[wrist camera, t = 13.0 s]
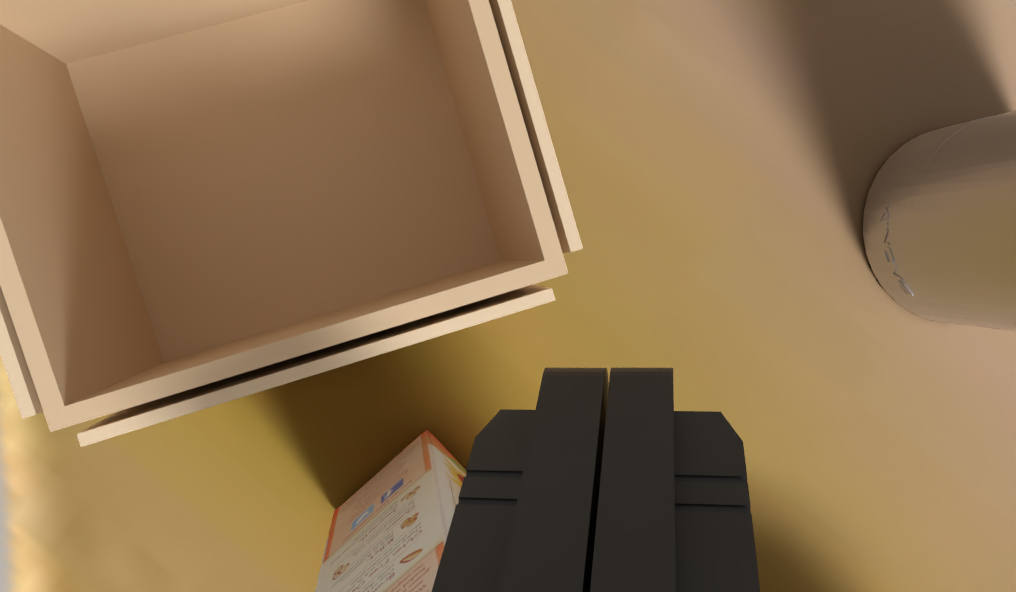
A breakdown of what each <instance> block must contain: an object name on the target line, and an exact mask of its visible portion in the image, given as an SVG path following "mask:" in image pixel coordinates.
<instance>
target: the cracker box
mask: <svg viewBox="0 0 1016 592" xmlns="http://www.w3.org/2000/svg"><path fill="white" fill-rule="evenodd" d="M464 476H465V477H466V470H465V469H464V468H463V467H462V465H461V464H460V463H459V462H458V461H457V460H456V459H455V458H454V457H453V456H452V455H451V454H450V453H449V451H448V450H447V449H446V448H445V447H444V446H443V445H442V444H441V443H440V442H439V441H438V440H437V438H436V437H435V436H434V435H433V434H432V433H431V432H430V431H428V430H426V431H425V432H423V433H422V434H421V435H420V436H418V437H417V438H416V439H415V440H414V441H413V442H411V443H410V444H409V445H408V446H407V447H406V448H405V449H404V450H403V451H401V452H400V453H399V454H398V455H397V456H396V457H395V458H394V459H393V460H392V461H390V462H389V463H388V464H387V465H386V466H385V467H384V468H383V469H382V470H380V471H379V472H378V473H377V474H376V475H375V476H374V477H373V478H371V479H370V480H369V481H368V482H367V483H366V484H365V485H364V486H362V487H361V488H360V489H359V490H358V491H357V492H356V493H355V494H353V495H352V496H351V497H350V498H349V499H348V500H347V501H345V502H344V503H343V504H342V505H341V506H340V507H338V508H337V509H336V510H335V512H334V515H333V519H332V524H331V527H330V531H329V536H328V539H327V543H326V547H325V551H324V556H323V559H322V565H321V569H320V573H319V577H318V583H317V587H316V590H315V592H432V588H433V585H434V581H435V578H436V574H437V571H438V567H439V564H440V560H441V557H442V553H443V550H444V546H445V543H446V539H447V535H448V532H449V528H450V525H451V521H452V518H453V514H454V511H455V507H456V504H458V502H459V493H460V490H461V486H462V483H463V479H464Z"/></svg>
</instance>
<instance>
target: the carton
mask: <svg viewBox="0 0 1016 592" xmlns="http://www.w3.org/2000/svg"><path fill="white" fill-rule="evenodd" d="M580 249H583V247H582V243H581V240H580V237H579V233H578V230H577V226H576V223H575V219H574V216H573V212H572V209H571V206H570V202H569V199H568V195H567V192H566V188H565V185H564V182H563V178H562V175H561V171H560V168H559V164H558V161H557V157H556V154H555V151H554V147H553V144H552V140H551V137H550V133H549V130H548V126H547V123H546V120H545V116H544V113H543V109H542V106H541V102H540V99H539V95H538V92H537V89H536V85H535V82H534V78H533V75H532V71H531V68H530V64H529V61H528V58H527V54H526V51H525V47H524V44H523V40H522V37H521V33H520V30H519V27H518V23H517V20H516V16H515V13H514V9H513V6H512V2H511V0H0V355H1V358H2V361H3V364H4V367H5V370H6V373H7V376H8V379H9V381H10V384H11V387H12V390H13V393H14V396H15V399H16V402H17V405H18V408H19V411H20V413H21V416H22V419H23V418H27V417H30V416H33V415H36V414H39V413H41V412H44V415H45V418H46V421H47V423H48V426H49V429H50V432H52V431H56V430H59V429H62V428H65V427H69V426H72V425H75V424H78V423H82V422H85V421H88V420H92V419H95V418H98V417H101V416H105V415H108V414H111V413H114V412H117V413H115V414H113V415H111V416H109V417H108V418H106V419H104V420H102V421H100V422H98V423H96V424H95V425H93V426H91V427H89V428H87V429H85V430H84V431H82V432H80V433H78V434H77V436H78V439H79V442H80V445H81V447H83V446H86V445H89V444H92V443H96V442H99V441H102V440H105V439H109V438H112V437H115V436H118V435H121V434H125V433H128V432H131V431H134V430H138V429H141V428H144V427H147V426H151V425H154V424H157V423H160V422H164V421H167V420H170V419H173V418H176V417H180V416H183V415H186V414H189V413H193V412H196V411H199V410H202V409H206V408H209V407H212V406H215V405H218V404H222V403H225V402H228V401H231V400H235V399H238V398H241V397H244V396H248V395H251V394H254V393H257V392H260V391H264V390H267V389H270V388H273V387H277V386H280V385H283V384H286V383H290V382H293V381H296V380H299V379H303V378H306V377H309V376H312V375H315V374H319V373H322V372H325V371H328V370H332V369H335V368H338V367H341V366H345V365H348V364H351V363H354V362H357V361H361V360H364V359H367V358H370V357H374V356H377V355H380V354H383V353H387V352H390V351H393V350H396V349H400V348H403V347H406V346H409V345H412V344H416V343H419V342H422V341H425V340H429V339H432V338H435V337H438V336H442V335H445V334H448V333H451V332H454V331H458V330H461V329H464V328H467V327H471V326H474V325H477V324H480V323H484V322H487V321H490V320H493V319H496V318H500V317H503V316H506V315H509V314H513V313H516V312H519V311H522V310H526V309H529V308H532V307H535V306H539V305H542V304H545V303H548V302H551V301H555V297H554V294H553V290H552V288H549V287H543V286H537V285H532V284H535V283H539V282H542V281H545V280H549V279H552V278H555V277H558V276H562V275H565V274H568V270H567V267H566V263H565V260H564V256H563V253H565V252H573V251H576V250H580ZM118 411H119V412H118Z"/></svg>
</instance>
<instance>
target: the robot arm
mask: <svg viewBox="0 0 1016 592" xmlns="http://www.w3.org/2000/svg"><path fill="white" fill-rule="evenodd" d="M863 238H864V244H865V250H866V255H867V257H868V260H869V263H870V265H871V268H872V271H873V273H874V275H875V276H876V278H877V279H878V281H879V283H880V284H881V286H882V287H883V289H884V290H885V291H886V292H887V293H888V294H889V295H890V296H891V297H892V298H893V299H894V300H895V301H896V302H897V303H898V304H899V305H901V306H902V307H904V308H905V309H907V310H908V311H910V312H911V313H913V314H915V315H917V316H920V317H923V318H926V319H928V320H931V321H936V322H945V323H953V324H961V325H969V326H978V327H986V328H993V329H1000V330H1008V331H1016V110H1015V111H1011V112H1007V113H1003V114H999V115H994V116H989V117H985V118H981V119H977V120H973V121H969V122H965V123H961V124H957V125H953V126H949V127H944V128H940V129H937V130H934V131H930V132H927V133H923V134H921V135H919V136H917V137H915V138H914V139H912V140H910V141H908V142H906V143H905V144H903V145H902V146H901V147H900V148H899V149H898V150H897V151H895V152H894V153H893V154H892V155H891V156H890V157H889V158H888V159H887V161H886V162H885V163H884V165H883V166H882V167H881V169H880V170H879V171H878V173H877V175H876V177H875V179H874V181H873V183H872V186H871V188H870V190H869V192H868V196H867V200H866V204H865V209H864V215H863ZM432 592H760V586H759V577H758V569H757V560H756V551H755V542H754V534H753V525H752V516H751V513H750V499H749V490H748V483H747V473H746V464H745V455H744V447H743V441H742V440H741V438H740V437H739V436H738V434H737V433H736V432H735V430H734V429H733V428H732V426H731V425H730V424H729V422H728V421H727V420H726V418H725V417H724V416H723V414H722V413H721V412H694V411H674V406H673V368H611V371H610V381H609V383H608V373H607V368H545V370H544V372H543V377H542V382H541V386H540V391H539V396H538V401H537V406H536V410H500V411H499V412H498V413H497V414H496V415H495V416H494V418H493V419H492V420H491V421H490V422H489V423H488V424H487V425H486V426H485V427H484V429H483V430H482V431H481V432H480V433H479V434H478V435H477V436H476V437H475V441H474V444H473V448H472V451H471V455H470V458H469V462H468V465H467V469H466V477H465V476H464V479H463V483H462V486H461V490H460V493H459V502H458V504H456V507H455V511H454V514H453V518H452V521H451V525H450V528H449V532H448V535H447V539H446V543H445V546H444V550H443V553H442V557H441V560H440V564H439V567H438V571H437V574H436V578H435V581H434V585H433V588H432Z"/></svg>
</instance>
